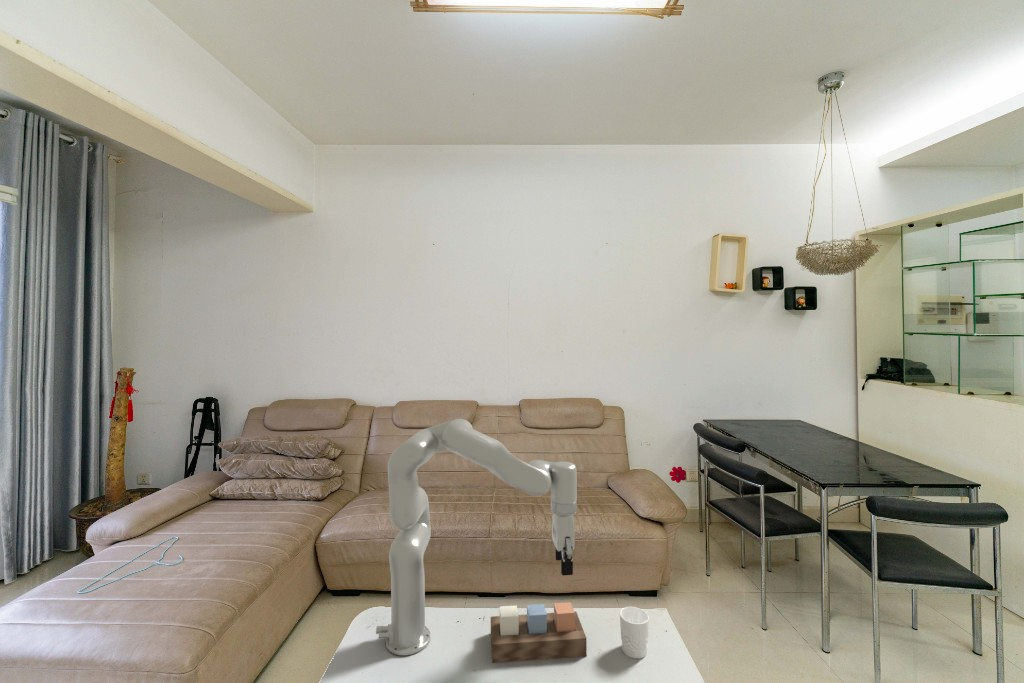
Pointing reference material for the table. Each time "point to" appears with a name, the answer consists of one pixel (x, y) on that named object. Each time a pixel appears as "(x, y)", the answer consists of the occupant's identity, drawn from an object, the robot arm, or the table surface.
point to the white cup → (634, 631)
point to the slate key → (536, 619)
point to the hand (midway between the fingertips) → (563, 566)
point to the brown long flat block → (537, 642)
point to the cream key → (509, 620)
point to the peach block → (564, 617)
